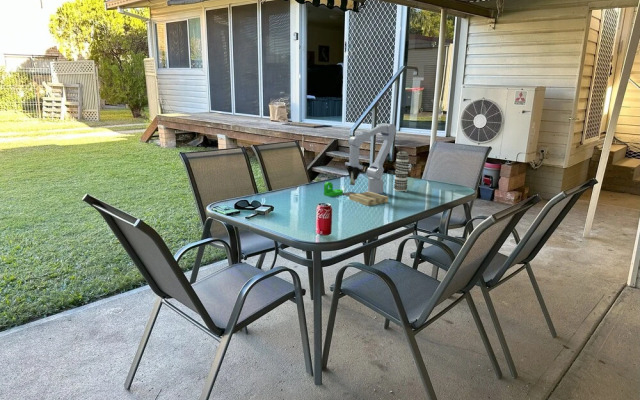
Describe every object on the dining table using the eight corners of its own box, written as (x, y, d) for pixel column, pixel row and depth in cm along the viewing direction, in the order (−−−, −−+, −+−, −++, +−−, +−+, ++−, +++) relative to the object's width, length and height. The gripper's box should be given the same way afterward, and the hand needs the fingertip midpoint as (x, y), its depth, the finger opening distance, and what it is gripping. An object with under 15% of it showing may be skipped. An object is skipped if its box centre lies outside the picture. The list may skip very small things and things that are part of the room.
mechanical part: (330, 197, 257) (330, 184, 255) (323, 195, 262) (323, 182, 260) (344, 193, 265) (345, 181, 263) (338, 192, 269) (338, 179, 267)
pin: (352, 183, 264) (353, 170, 262) (356, 184, 261) (357, 172, 259) (348, 184, 262) (349, 171, 260) (352, 185, 259) (353, 172, 257)
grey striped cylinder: (393, 191, 276) (395, 152, 270) (393, 188, 285) (395, 150, 279) (407, 192, 275) (410, 153, 269) (407, 189, 284) (410, 151, 277)
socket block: (369, 196, 262) (369, 191, 261) (388, 202, 249) (388, 197, 248) (349, 199, 252) (349, 194, 252) (367, 205, 240) (367, 200, 239)
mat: (351, 192, 271) (352, 191, 271) (362, 195, 264) (362, 194, 264) (339, 194, 266) (339, 193, 266) (350, 197, 258) (350, 196, 258)
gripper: (341, 155, 261) (340, 177, 264) (357, 158, 249) (356, 181, 253) (350, 154, 265) (349, 176, 268) (366, 158, 253) (365, 180, 257)
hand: (353, 178), depth 261 cm, fingers closed on pin, 3 cm apart
